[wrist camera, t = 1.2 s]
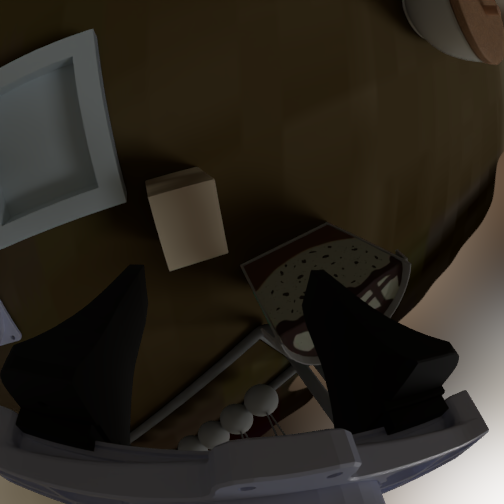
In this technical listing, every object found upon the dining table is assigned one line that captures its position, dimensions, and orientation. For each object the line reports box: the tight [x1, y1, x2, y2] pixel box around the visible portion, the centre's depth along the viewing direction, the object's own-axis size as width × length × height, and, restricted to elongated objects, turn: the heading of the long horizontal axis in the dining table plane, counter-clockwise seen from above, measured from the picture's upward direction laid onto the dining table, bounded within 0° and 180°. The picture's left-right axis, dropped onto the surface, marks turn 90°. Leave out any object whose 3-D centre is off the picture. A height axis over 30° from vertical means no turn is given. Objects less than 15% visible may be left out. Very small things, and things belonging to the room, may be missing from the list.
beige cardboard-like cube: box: [145, 167, 228, 271], centre depth 20 cm, size 4×5×5 cm
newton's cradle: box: [130, 324, 334, 451], centre depth 26 cm, size 30×10×18 cm, turn 128°
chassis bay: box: [0, 29, 127, 250], centre depth 14 cm, size 11×12×2 cm
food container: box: [240, 222, 411, 365], centre depth 24 cm, size 12×6×10 cm, turn 107°
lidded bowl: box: [402, 0, 504, 65], centre depth 16 cm, size 13×13×11 cm
